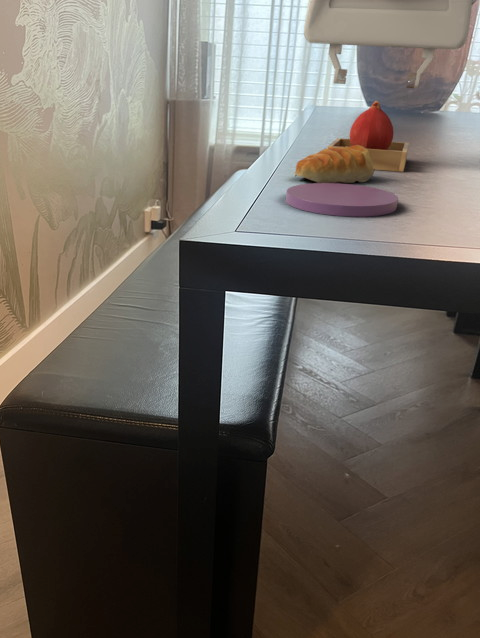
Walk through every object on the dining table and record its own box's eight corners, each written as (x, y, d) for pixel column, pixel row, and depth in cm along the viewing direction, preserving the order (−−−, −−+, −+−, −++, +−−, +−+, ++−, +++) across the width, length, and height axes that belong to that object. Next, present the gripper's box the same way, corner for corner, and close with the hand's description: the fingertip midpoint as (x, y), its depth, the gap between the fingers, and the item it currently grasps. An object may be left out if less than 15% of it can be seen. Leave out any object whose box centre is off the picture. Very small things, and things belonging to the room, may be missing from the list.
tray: (335, 155, 91) (337, 137, 89) (405, 161, 88) (409, 142, 87) (325, 165, 82) (327, 146, 81) (403, 172, 79) (406, 151, 78)
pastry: (318, 187, 68) (321, 152, 66) (280, 178, 73) (283, 144, 72) (377, 181, 73) (382, 147, 71) (338, 172, 78) (342, 141, 76)
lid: (370, 192, 67) (372, 182, 66) (416, 216, 57) (418, 205, 57) (273, 192, 65) (274, 183, 65) (303, 217, 56) (305, 206, 55)
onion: (339, 160, 87) (347, 99, 83) (377, 159, 88) (386, 99, 84) (356, 167, 82) (365, 102, 78) (395, 166, 83) (406, 102, 79)
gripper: (484, -35, 74) (457, 90, 80) (317, -37, 79) (303, 81, 85) (489, -43, 68) (459, 91, 75) (309, -44, 74) (295, 81, 80)
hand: (375, 86), depth 80 cm, fingers open, 8 cm apart
